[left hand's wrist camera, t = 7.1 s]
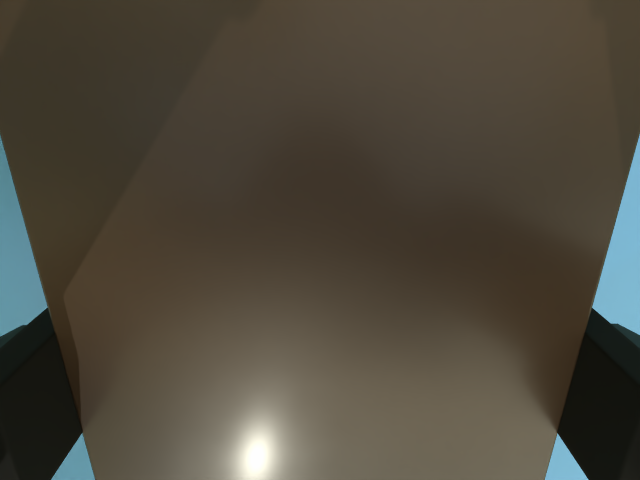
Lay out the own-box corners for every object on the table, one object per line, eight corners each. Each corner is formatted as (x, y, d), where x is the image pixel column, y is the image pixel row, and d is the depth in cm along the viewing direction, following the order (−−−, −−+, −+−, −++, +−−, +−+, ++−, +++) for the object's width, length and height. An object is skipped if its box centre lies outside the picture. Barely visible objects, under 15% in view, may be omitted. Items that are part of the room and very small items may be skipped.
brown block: (130, -187, 12) (-233, -695, 4) (509, -187, 12) (872, -695, 4) (194, 312, 18) (97, 494, 10) (445, 312, 18) (542, 494, 10)
